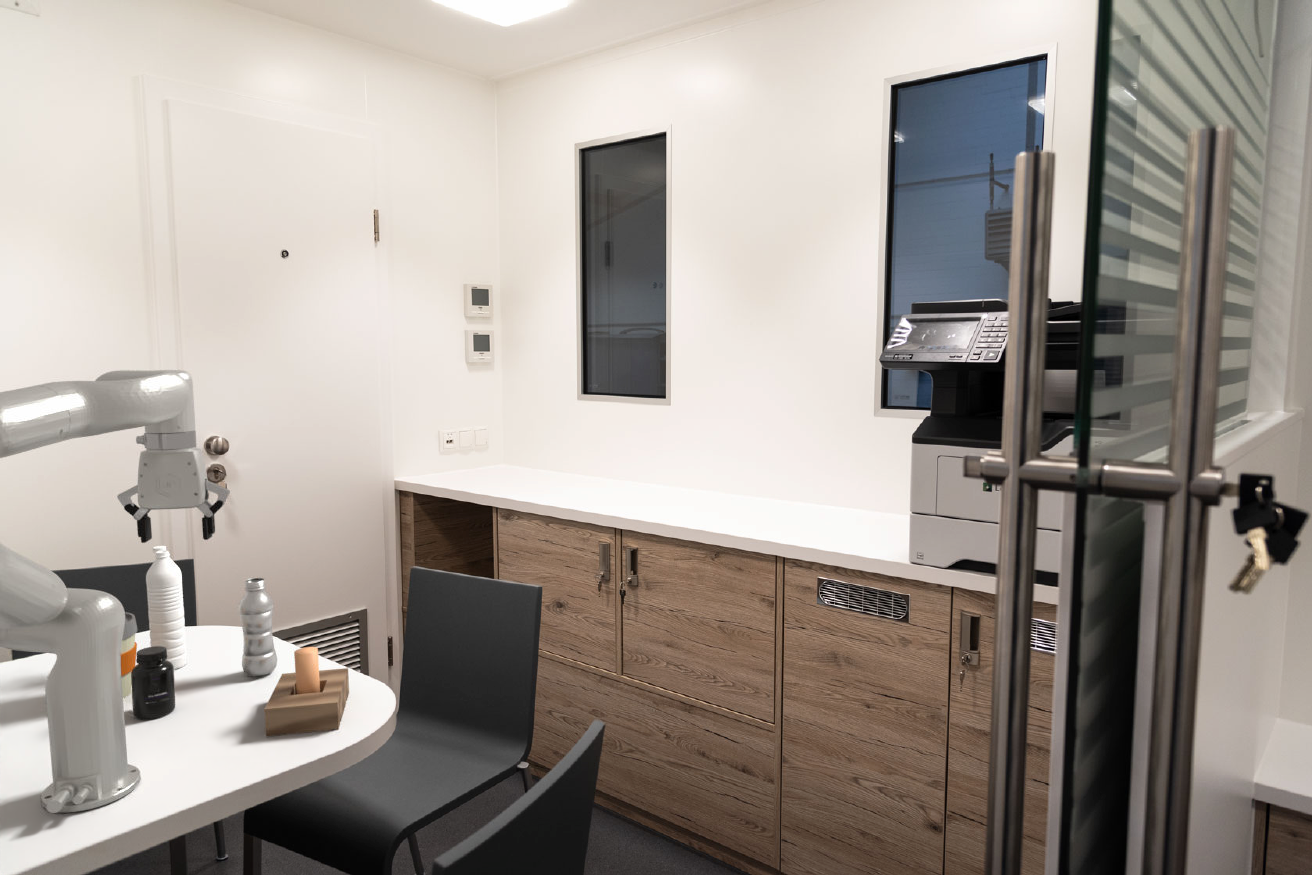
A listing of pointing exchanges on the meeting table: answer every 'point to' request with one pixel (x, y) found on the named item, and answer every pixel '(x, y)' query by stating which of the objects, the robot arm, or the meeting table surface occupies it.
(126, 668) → the reusable coffee cup
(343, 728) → the meeting table surface
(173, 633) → the water bottle
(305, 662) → the peg
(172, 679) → the supplement bottle
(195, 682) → the meeting table surface
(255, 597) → the plastic bottle
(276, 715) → the socket block
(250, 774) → the meeting table surface
